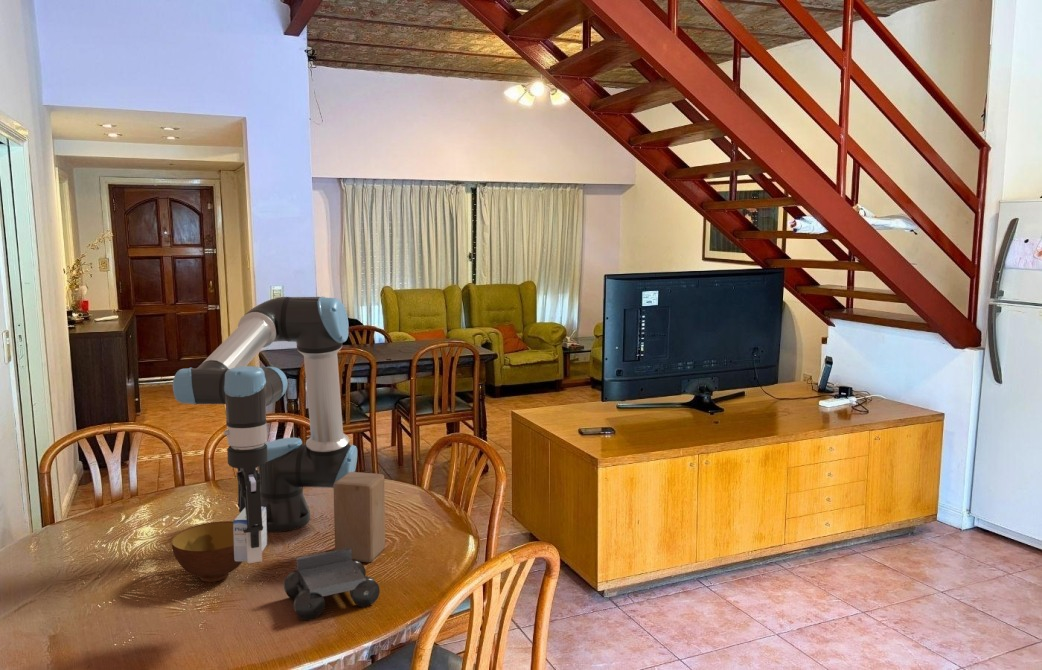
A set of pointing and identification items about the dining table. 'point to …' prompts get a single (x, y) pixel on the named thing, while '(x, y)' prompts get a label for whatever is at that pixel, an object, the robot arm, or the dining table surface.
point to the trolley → (328, 582)
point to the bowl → (206, 550)
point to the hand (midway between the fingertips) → (251, 552)
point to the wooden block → (360, 514)
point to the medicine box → (240, 536)
